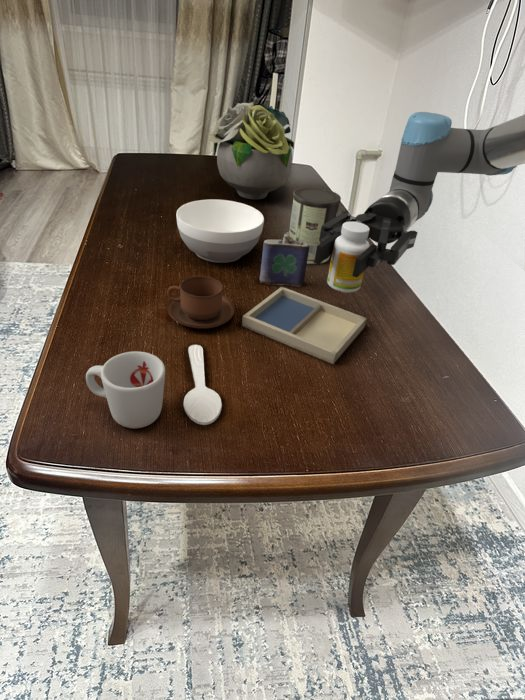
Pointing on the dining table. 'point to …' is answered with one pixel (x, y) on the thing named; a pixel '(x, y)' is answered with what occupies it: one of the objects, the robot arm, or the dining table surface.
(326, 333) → the sorting tray
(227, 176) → the flower arrangement
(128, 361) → the cup
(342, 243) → the supplement bottle
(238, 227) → the bowl
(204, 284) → the cup and saucer
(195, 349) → the spoon
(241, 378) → the dining table surface
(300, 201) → the coffee can
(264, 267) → the flask
